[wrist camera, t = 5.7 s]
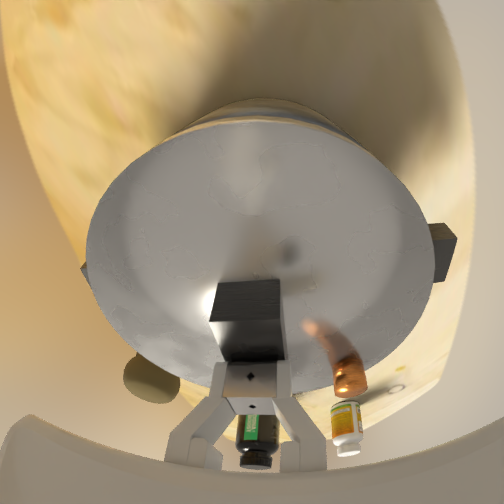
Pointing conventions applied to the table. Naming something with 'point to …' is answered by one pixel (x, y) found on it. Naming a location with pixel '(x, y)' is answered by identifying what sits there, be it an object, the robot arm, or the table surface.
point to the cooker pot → (439, 232)
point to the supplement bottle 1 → (257, 440)
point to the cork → (150, 381)
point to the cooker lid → (261, 253)
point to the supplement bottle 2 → (346, 428)
